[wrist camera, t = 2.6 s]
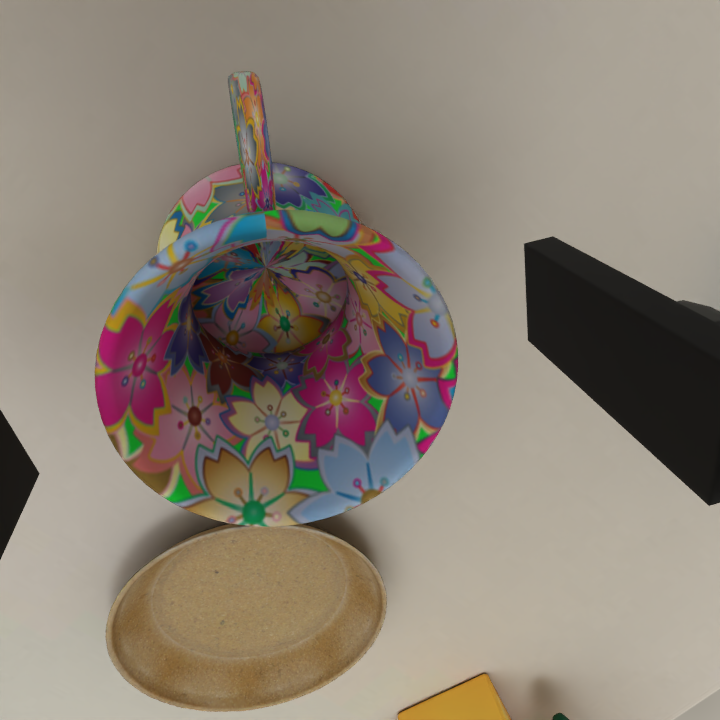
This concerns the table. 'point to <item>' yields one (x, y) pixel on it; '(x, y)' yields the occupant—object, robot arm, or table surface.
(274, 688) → the plant saucer
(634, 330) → the robot arm
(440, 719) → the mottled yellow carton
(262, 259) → the mug
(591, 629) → the table surface
